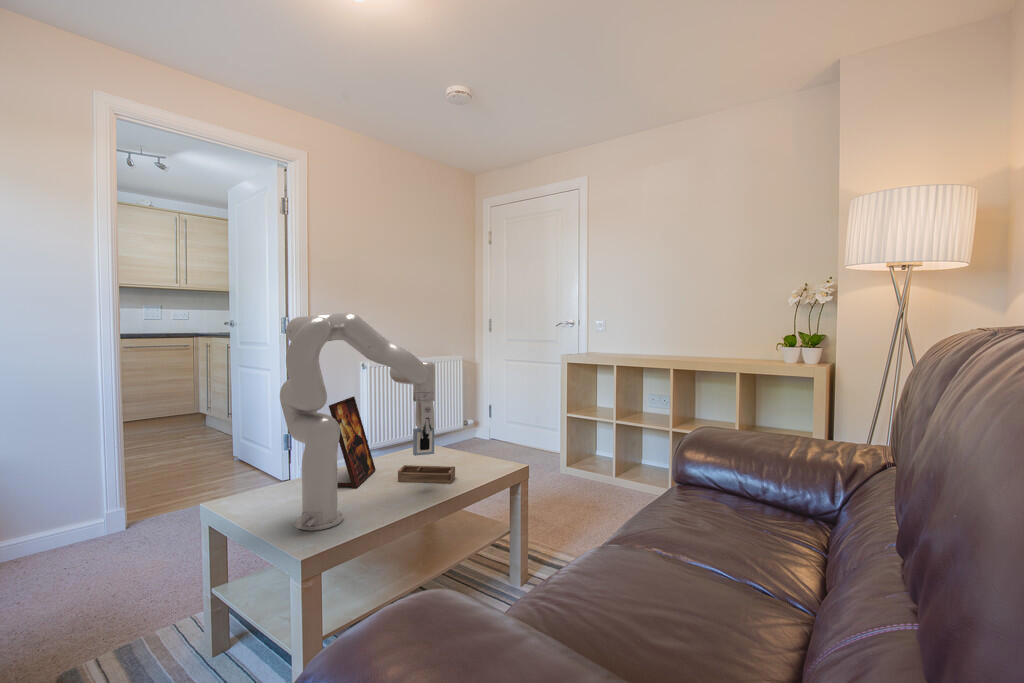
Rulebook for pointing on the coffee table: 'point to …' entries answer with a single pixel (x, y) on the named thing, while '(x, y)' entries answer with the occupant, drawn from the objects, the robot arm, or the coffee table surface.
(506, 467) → the coffee table surface
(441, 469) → the wooden tray box
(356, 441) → the picture frame
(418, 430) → the blue frame tile
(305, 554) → the coffee table surface
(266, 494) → the coffee table surface
